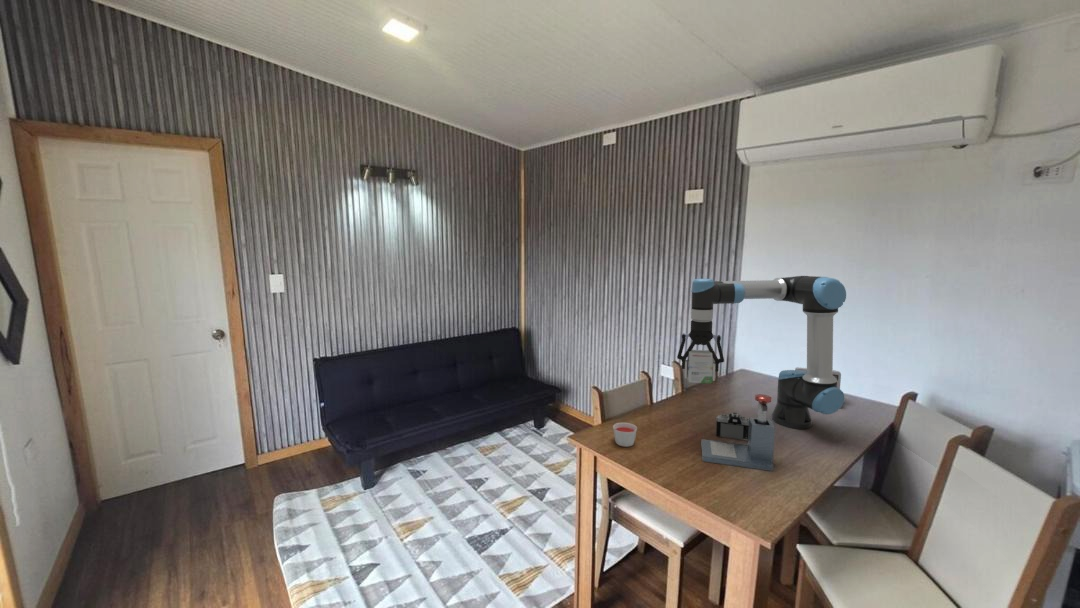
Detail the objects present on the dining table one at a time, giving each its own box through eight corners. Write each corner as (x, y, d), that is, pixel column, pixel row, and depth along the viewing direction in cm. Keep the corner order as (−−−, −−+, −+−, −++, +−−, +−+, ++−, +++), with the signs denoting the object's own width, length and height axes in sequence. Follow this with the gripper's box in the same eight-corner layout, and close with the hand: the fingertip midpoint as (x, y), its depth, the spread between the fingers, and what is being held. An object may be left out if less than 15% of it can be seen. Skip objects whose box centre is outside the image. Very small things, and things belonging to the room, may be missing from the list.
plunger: (766, 434, 151) (768, 393, 149) (771, 445, 143) (773, 401, 141) (751, 432, 153) (753, 391, 151) (754, 443, 144) (757, 400, 142)
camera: (755, 434, 170) (757, 410, 169) (758, 443, 162) (759, 418, 160) (714, 428, 176) (715, 405, 174) (714, 437, 167) (715, 413, 166)
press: (767, 452, 154) (769, 415, 152) (774, 471, 141) (777, 431, 139) (701, 444, 161) (702, 408, 160) (702, 461, 148) (704, 423, 146)
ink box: (689, 382, 158) (690, 352, 157) (686, 378, 163) (687, 349, 162) (712, 383, 157) (714, 352, 156) (709, 379, 162) (710, 349, 161)
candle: (622, 450, 157) (623, 434, 156) (608, 440, 165) (608, 425, 164) (641, 445, 161) (641, 429, 160) (626, 436, 169) (626, 420, 168)
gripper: (733, 319, 157) (730, 378, 160) (671, 317, 165) (670, 373, 168) (734, 323, 150) (731, 384, 153) (670, 320, 158) (668, 378, 161)
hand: (699, 378), depth 160 cm, fingers closed on ink box, 9 cm apart
